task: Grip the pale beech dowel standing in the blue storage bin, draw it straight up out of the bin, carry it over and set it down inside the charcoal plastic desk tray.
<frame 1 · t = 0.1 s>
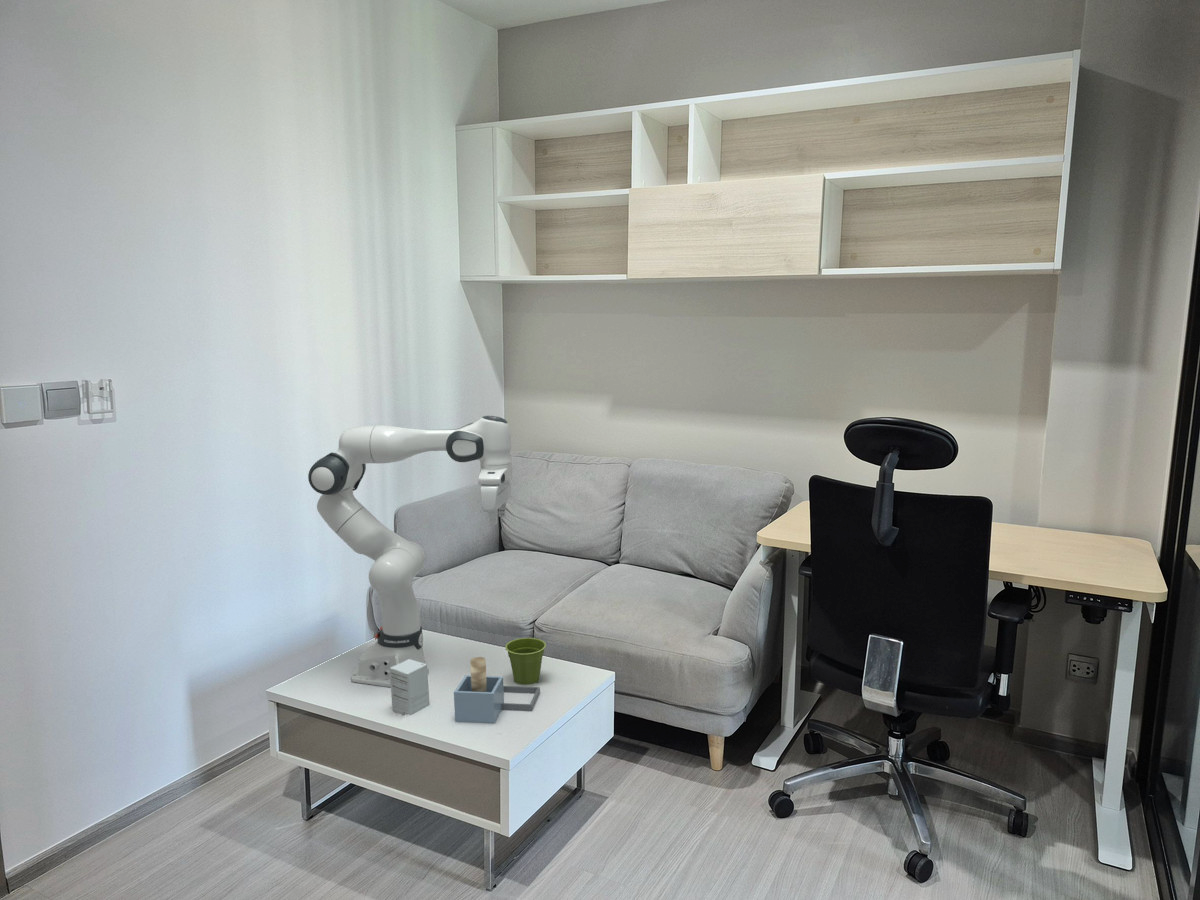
hand: (498, 520, 240), 48 cm above the table, fingers open, 8 cm apart
blue storage bin: (480, 715, 224), on the table
supplement box: (411, 710, 229), on the table
tray: (516, 703, 231), on the table
dowel: (480, 713, 224), point 1 cm above the table, touching blue storage bin
plant pot: (526, 682, 245), on the table
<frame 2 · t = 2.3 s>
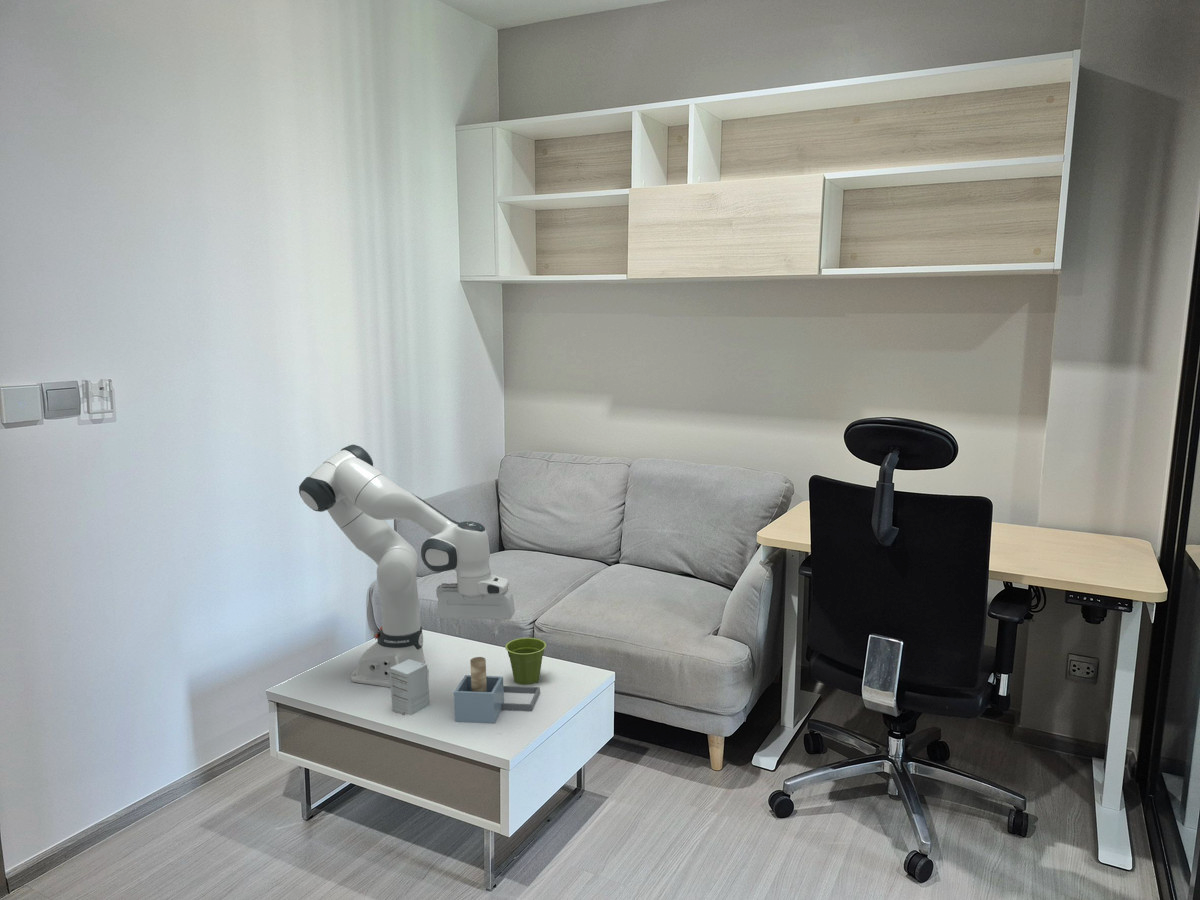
hand: (477, 634, 220), 23 cm above the table, fingers open, 8 cm apart
nothing on the table moved.
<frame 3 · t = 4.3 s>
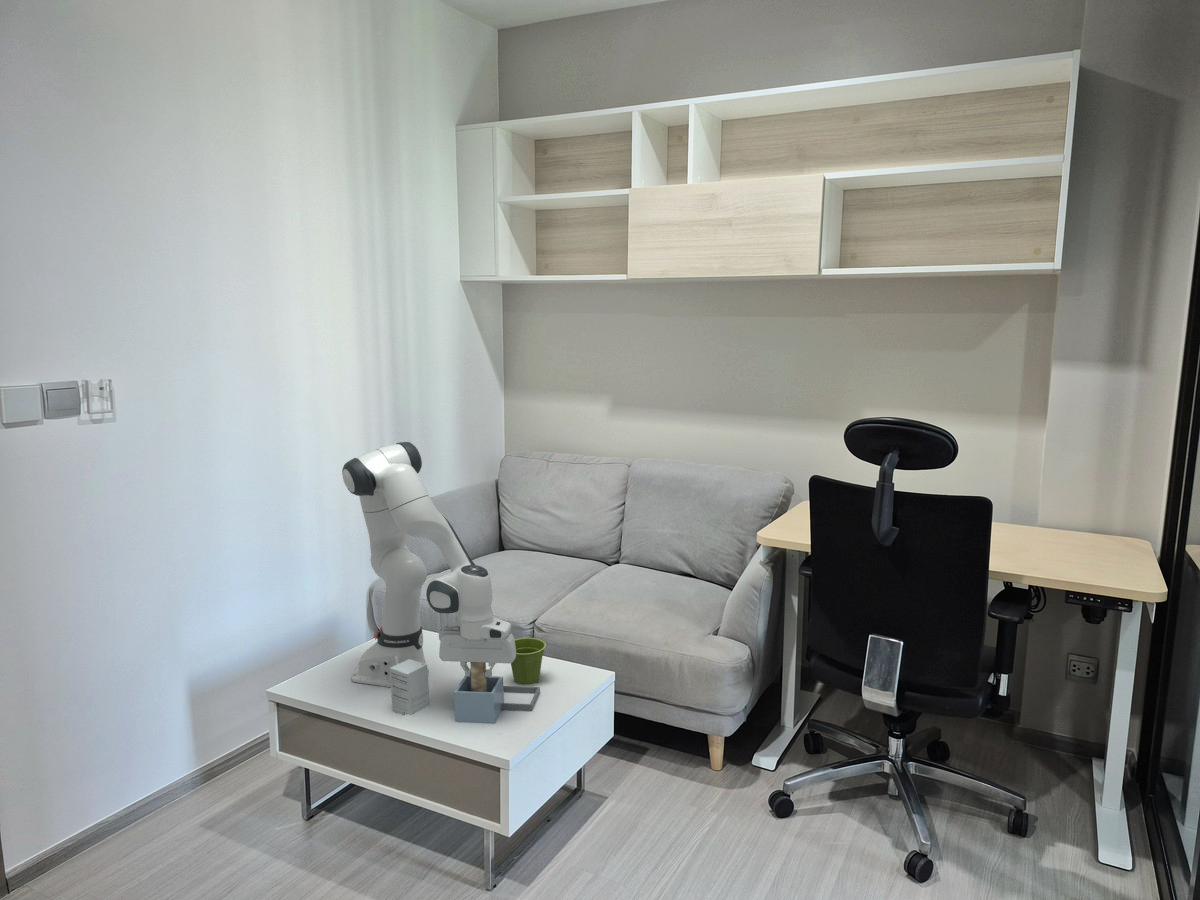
hand: (478, 676, 222), 11 cm above the table, fingers closed on dowel, 4 cm apart
dowel: (480, 713, 224), point 1 cm above the table, touching gripper, blue storage bin
everything else where it was.
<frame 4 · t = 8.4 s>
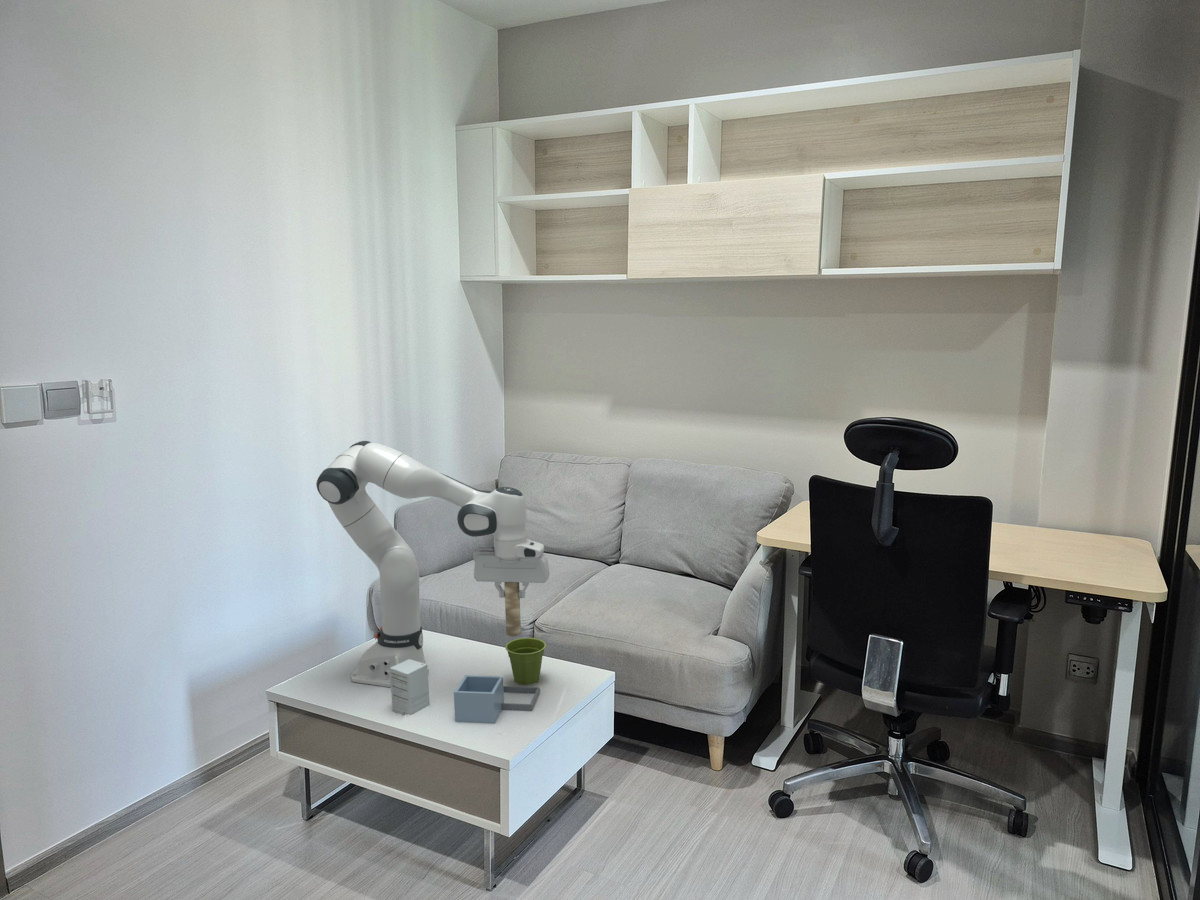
hand: (512, 597, 226), 31 cm above the table, fingers closed on dowel, 4 cm apart
dowel: (513, 633, 228), point 20 cm above the table, touching gripper
everything else where it was.
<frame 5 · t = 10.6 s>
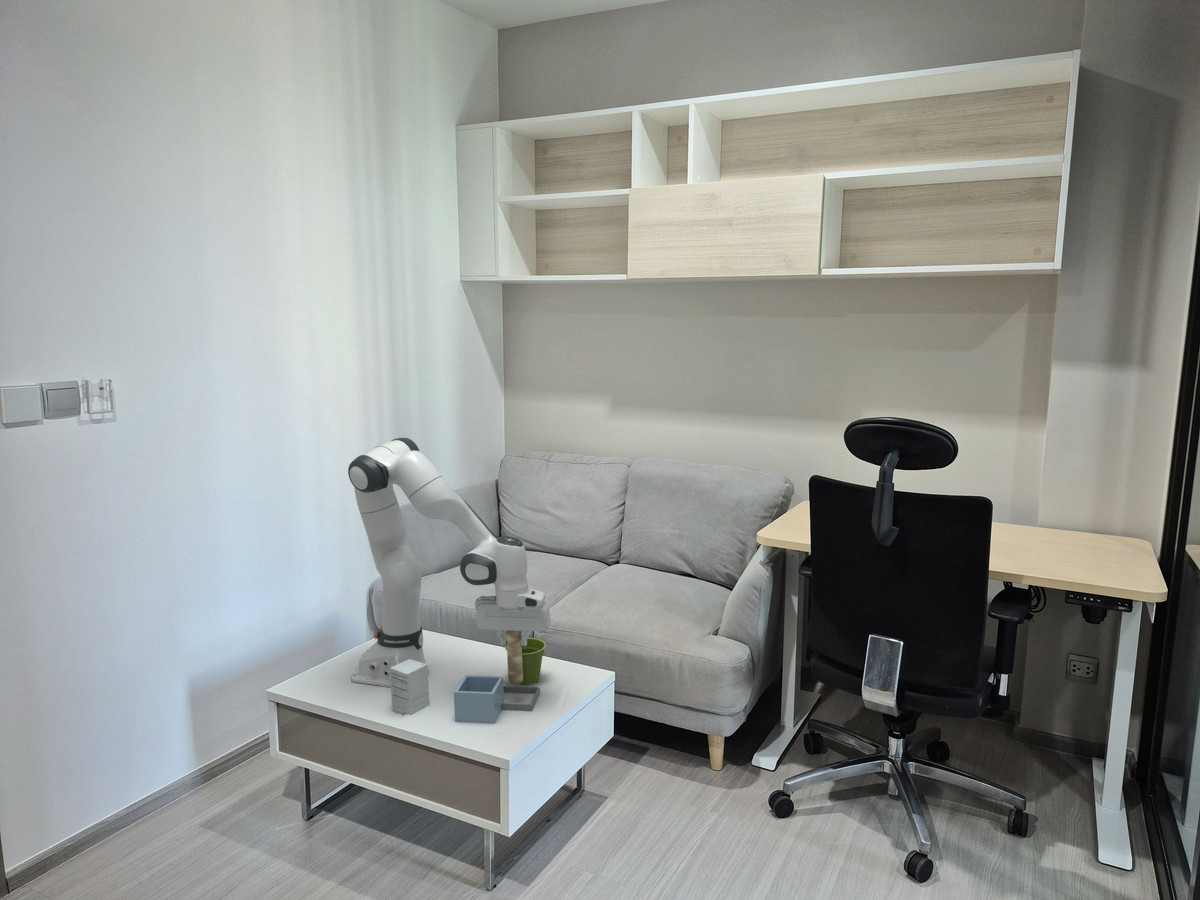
hand: (514, 645, 228), 17 cm above the table, fingers closed on dowel, 4 cm apart
dowel: (515, 680, 230), point 7 cm above the table, touching gripper
everything else where it was.
when the fingers open (13 cm above the table, at t = 12.4 s): dowel drops 2 cm, resting on tray.
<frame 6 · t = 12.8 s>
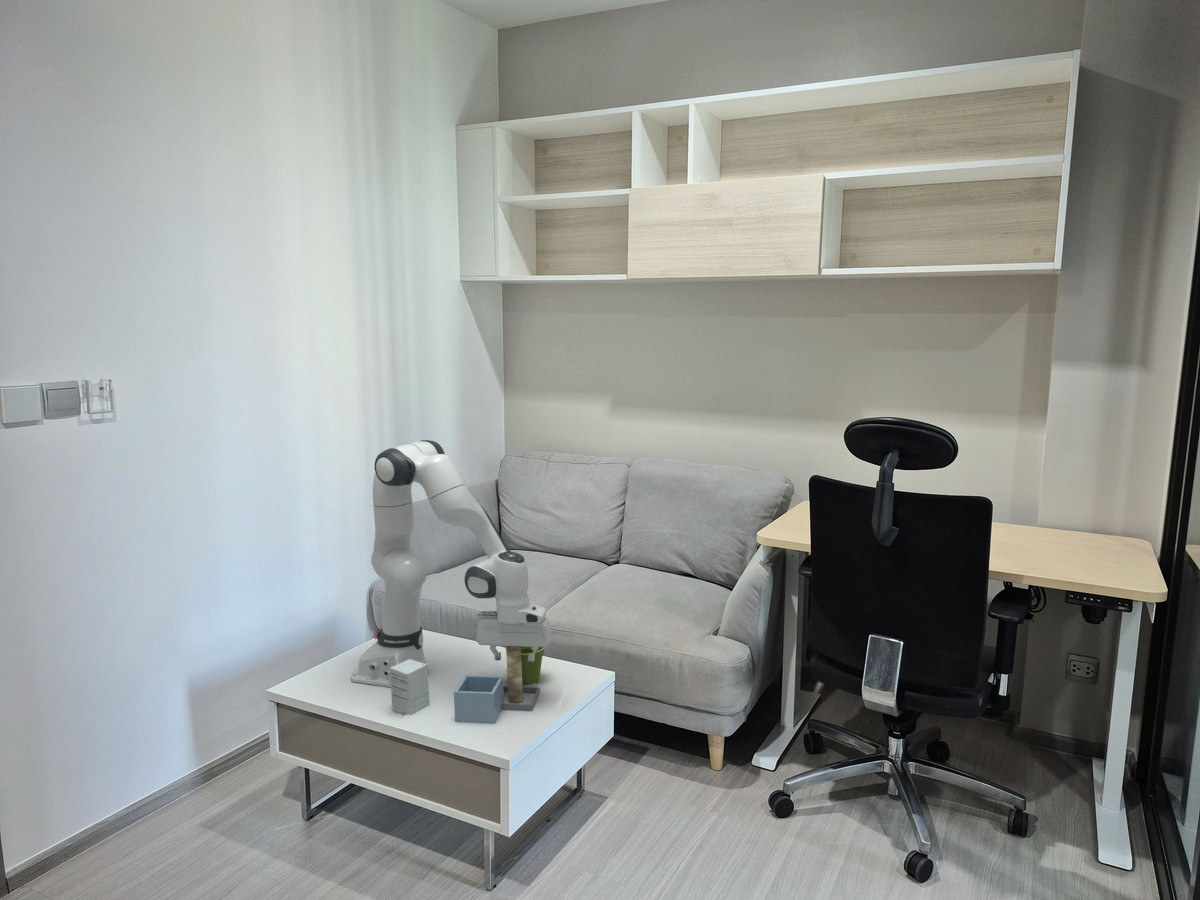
hand: (514, 660, 229), 13 cm above the table, fingers open, 8 cm apart
dowel: (515, 701, 231), point 1 cm above the table, touching tray
everything else where it was.
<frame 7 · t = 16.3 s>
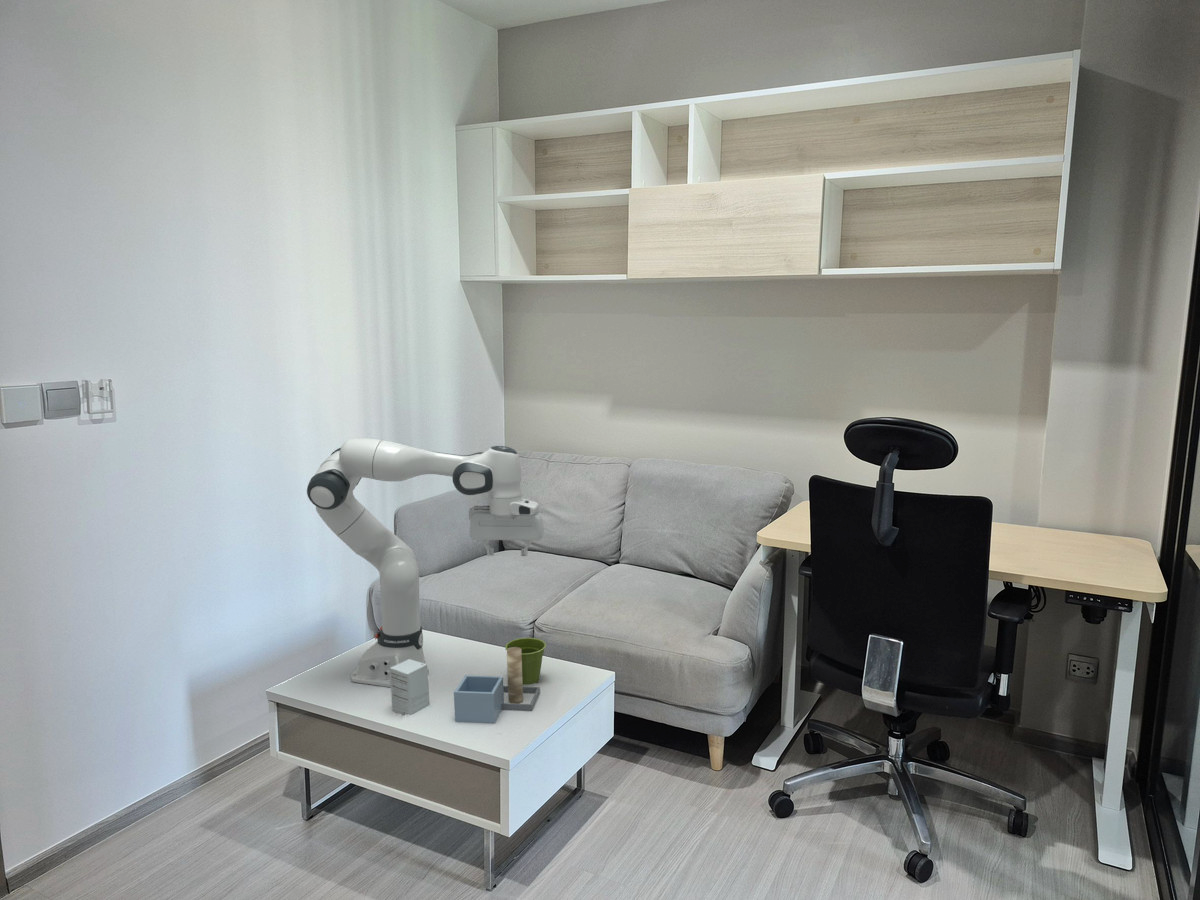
hand: (507, 555, 229), 41 cm above the table, fingers open, 8 cm apart
nothing on the table moved.
at the end: dowel inside the target area on the tray (0.1 cm from its centre), point 0.6 cm above the tray's base; the gripper is holding nothing; dowel touching tray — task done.
